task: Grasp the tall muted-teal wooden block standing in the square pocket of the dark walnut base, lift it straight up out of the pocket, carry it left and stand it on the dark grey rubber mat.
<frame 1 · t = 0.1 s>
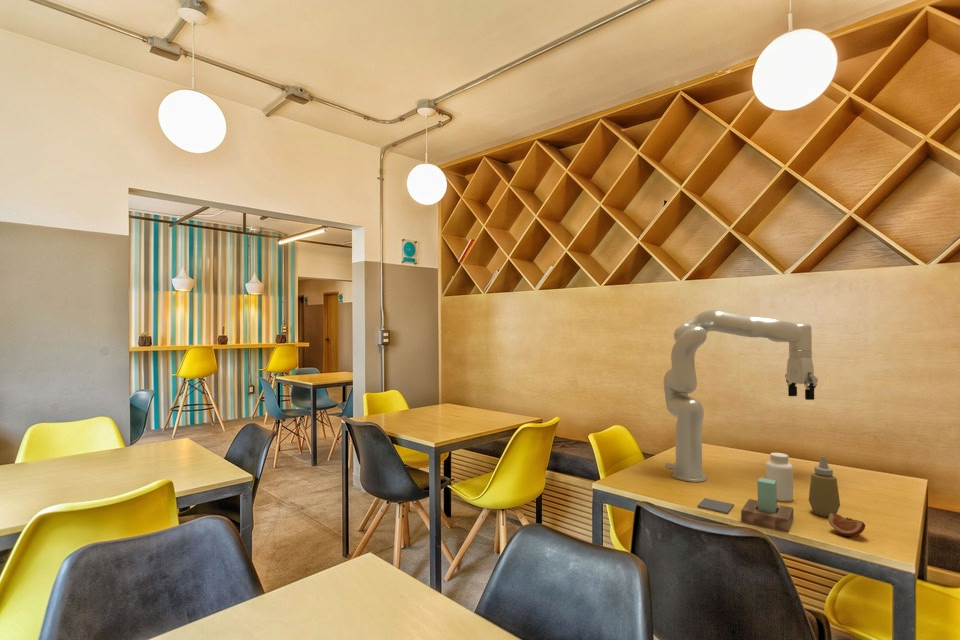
hand: (801, 397, 187), 31 cm above the table, tool pointing down, fingers open, 9 cm apart
fruit slice: (846, 535, 134), on the table
squeeze bottle: (824, 514, 149), on the table
pill bottle: (779, 498, 164), on the table
teal block: (767, 500, 144), in the pocket base
pocket base: (767, 520, 144), on the table
rubber mat: (715, 506, 155), on the table
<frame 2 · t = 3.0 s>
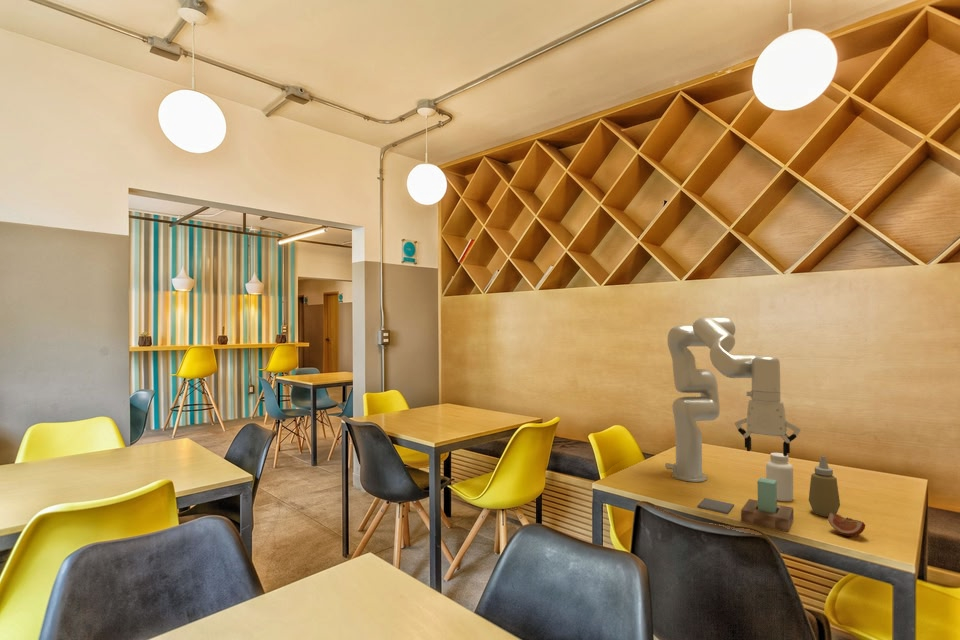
hand: (766, 452, 145), 20 cm above the table, tool pointing down, fingers open, 9 cm apart
nothing on the table moved.
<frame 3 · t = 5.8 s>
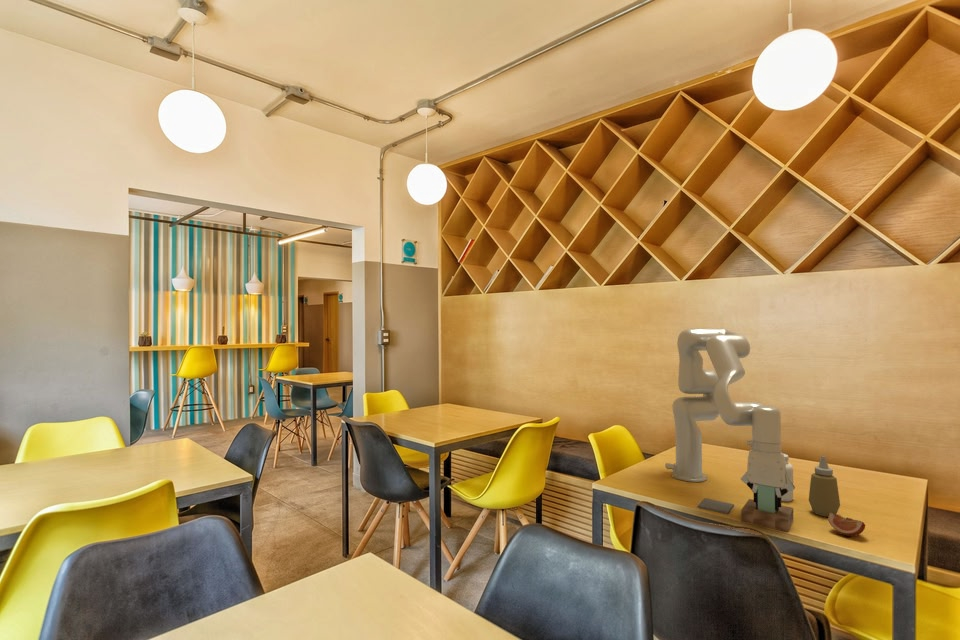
hand: (767, 506, 144), 4 cm above the table, tool pointing down, fingers closed on teal block, 4 cm apart
teal block: (767, 500, 144), in the pocket base, touching gripper
everything else where it was.
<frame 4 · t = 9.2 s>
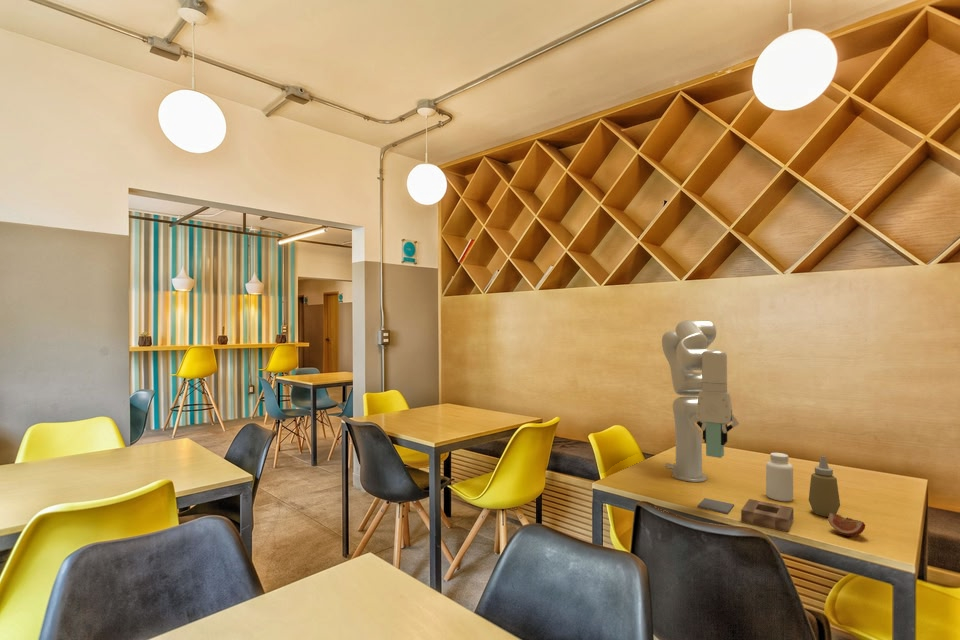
hand: (715, 442, 156), 21 cm above the table, tool pointing down, fingers closed on teal block, 4 cm apart
teal block: (714, 437, 156), point 23 cm above the table, touching gripper
everything else where it was.
when the fingers open (5 cm above the table, at t = 12.7 s): teal block stays where it is, resting on rubber mat.
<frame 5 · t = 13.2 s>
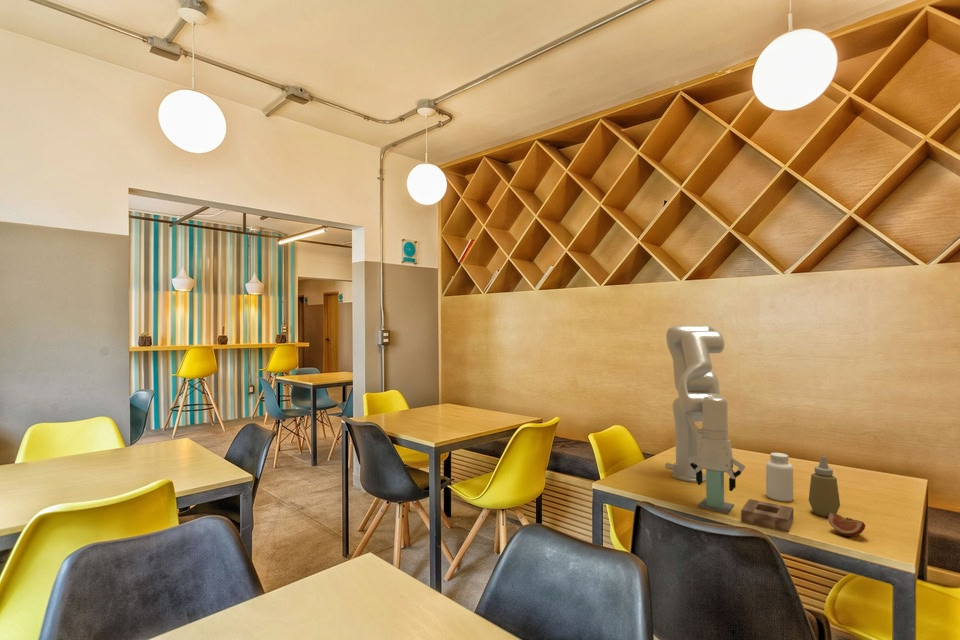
hand: (715, 486, 156), 6 cm above the table, tool pointing down, fingers open, 9 cm apart
teal block: (715, 486, 156), on the rubber mat, point 7 cm above the table
everything else where it was.
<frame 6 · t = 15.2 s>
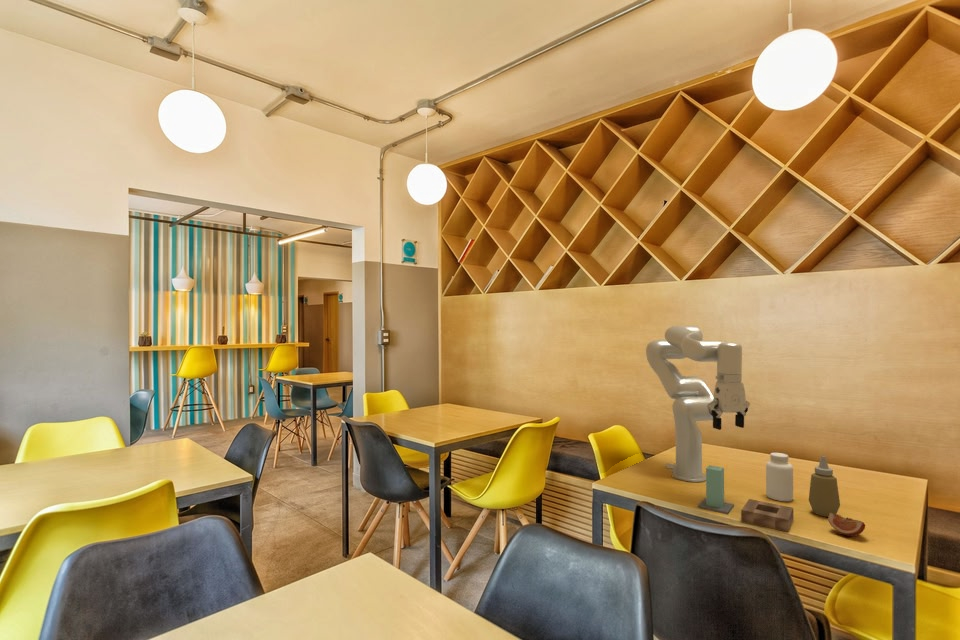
hand: (728, 427, 163), 24 cm above the table, tool pointing down, fingers open, 9 cm apart
nothing on the table moved.
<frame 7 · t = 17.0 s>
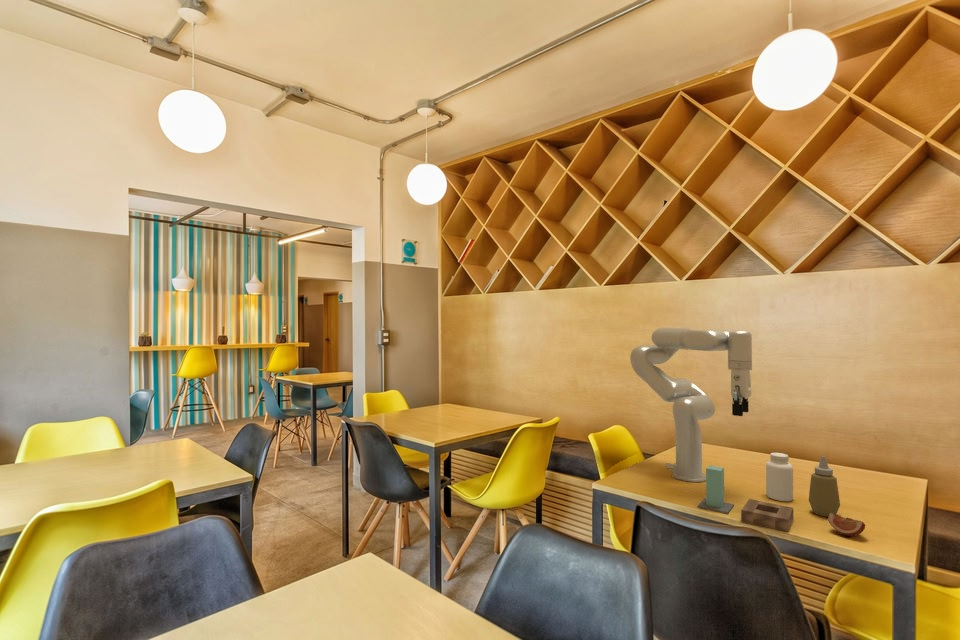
hand: (740, 413, 168), 28 cm above the table, tool pointing down, fingers open, 9 cm apart
nothing on the table moved.
at the end: teal block inside the target area on the rubber mat (0.1 cm from its centre), point 6.6 cm above the rubber mat's base; teal block tilted 0°; the gripper is holding nothing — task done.
